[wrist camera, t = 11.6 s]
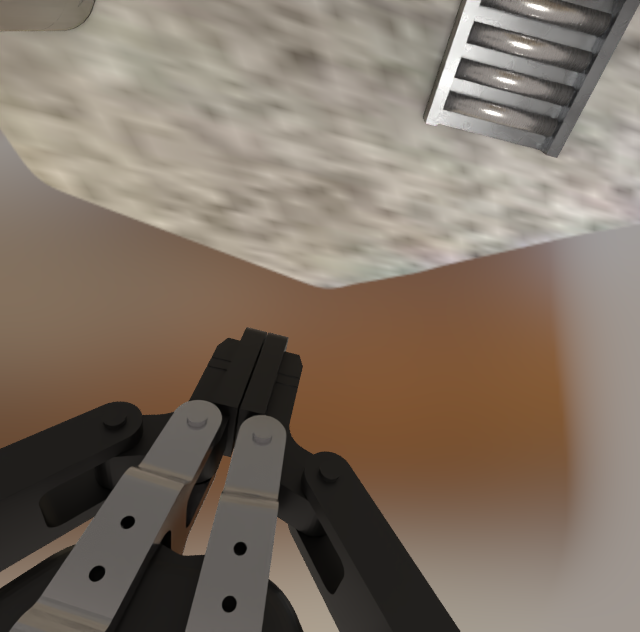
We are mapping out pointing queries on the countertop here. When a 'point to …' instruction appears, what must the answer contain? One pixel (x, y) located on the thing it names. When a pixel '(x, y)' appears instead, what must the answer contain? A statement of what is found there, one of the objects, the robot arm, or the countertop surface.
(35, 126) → the countertop surface
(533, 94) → the roller track
